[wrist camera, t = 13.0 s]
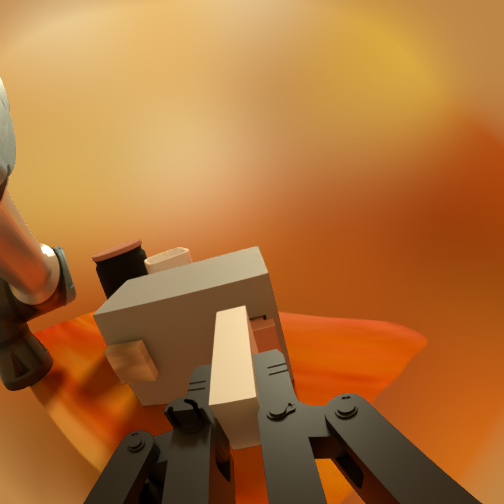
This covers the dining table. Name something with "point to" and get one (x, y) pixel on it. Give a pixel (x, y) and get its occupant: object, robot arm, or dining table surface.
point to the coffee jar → (120, 265)
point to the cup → (168, 260)
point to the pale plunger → (131, 362)
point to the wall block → (186, 316)
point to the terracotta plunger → (265, 334)
